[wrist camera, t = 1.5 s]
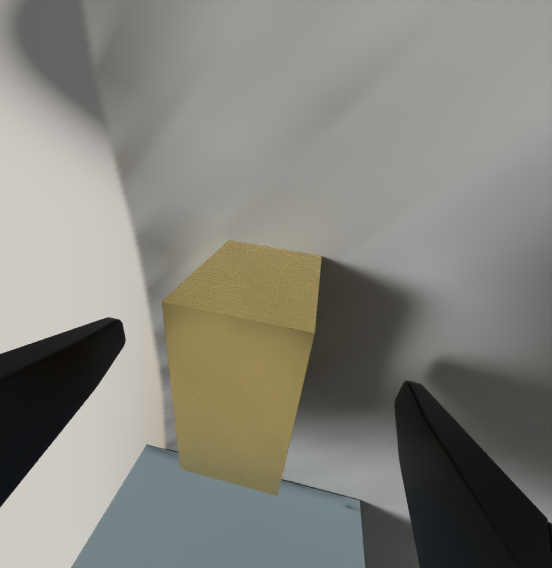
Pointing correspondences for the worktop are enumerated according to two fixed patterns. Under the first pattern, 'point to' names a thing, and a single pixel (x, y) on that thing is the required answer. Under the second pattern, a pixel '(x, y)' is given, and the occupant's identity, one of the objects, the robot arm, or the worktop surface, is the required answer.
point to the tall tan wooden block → (241, 360)
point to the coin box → (220, 523)
